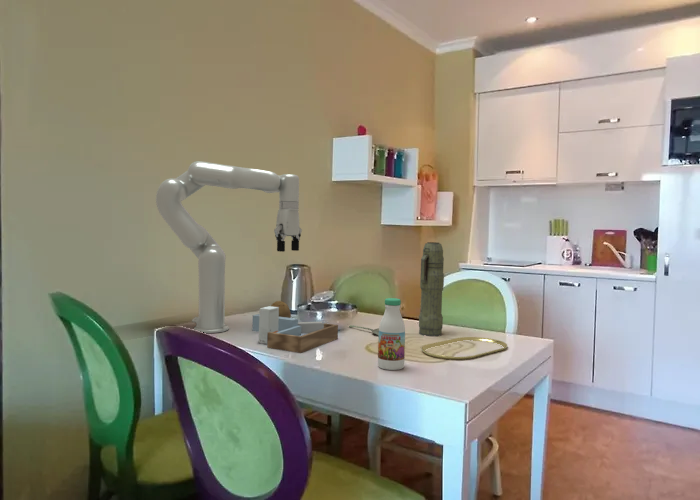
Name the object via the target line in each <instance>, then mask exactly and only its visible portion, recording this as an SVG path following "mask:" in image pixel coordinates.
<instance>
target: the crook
mask: <svg viewBox="0 0 700 500" xmlns="http://www.w3.org/2000/svg"><path fill="white" fill-rule="evenodd" d="M298 322H299V319H298V318H294V317H291V318H287V317H279V321H278V332H276V333H281V334H288V335H295V336H302V334H301V326H298ZM251 330H252V332H257V333H259V313H257V314H253V315H252V328H251Z"/></svg>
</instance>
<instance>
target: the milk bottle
mask: <svg viewBox="0 0 700 500" xmlns="http://www.w3.org/2000/svg"><path fill="white" fill-rule="evenodd" d="M401 304H402V301H401V299H400V298H396V297H395V298H394V297H393V298H392V297H388V298H385V299H384V308H385V310H384V314H383V315H382V318H381V320H380V321H379V327H378V328H379V336H378V341H377V343H378V346H377V348H378V349H377V351H378V352H377V365H378V367H379V368H380V369H383V370H388V371H389V370H390V371H399V370H402V369H404V367H405V357H406V356H405V355H406V353H405V352H406V327H405V321H404V320H403V317H402V314H401V311H400V310H401Z"/></svg>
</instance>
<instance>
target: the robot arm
mask: <svg viewBox="0 0 700 500" xmlns="http://www.w3.org/2000/svg"><path fill="white" fill-rule="evenodd" d="M205 186H208V187H209V186H210V187H216V188H225V189H230V190H231V189H232V190H234V189H235V190H237V189H245V190H247V189H248V190H254V191H256V190H257V191H262V192H264V193H265V194H274V193H279V195H278V198H279V201H278V210H277V216H276V222H275V224H276V226H275V228H274V231H273V232H274V235H275V236H274V237H275V238H276V240H275V241H276V251H277V252H282V253H285V252H286V240H285V238H286V237H291V246H290V247H291V248H290V249H291V250H290V251H294V252H298V251H300V240H301V235H302V231H303V229H302V228H301V227H300V213H299V210H300V209H299V208H300V207H299V205H300V199H299V197H300V177H299V175H297V174H292V173H290V174H289V173H286V174H285V173H283V174H281V175H279V174H277V173H276V172H274V171H270V170H263V169H257V168H249V167H243V166H242V167H241V166H235V165H229V164H221V163H215V162H209V161H201V160H198V161H193V162H191V164H190V165H189V166H188V168H187V170H186V171H184V172H183V173H181V174H180V175H178V176H177V177H176V178H173V177H171V178H166V179H165V180H163V181H162V182H161V183H160V184H159V186H158V189H157V191H156V195H155V203H156V208H157V210H158V213H159V215H160V216H161V217H162V219H163V220H164V222H165V223H166V224H167V226H169V228H170V229H171V230H172V232H173V233H174V234H175V235H176V236H177V238H178V239H179V241H181V243H182V245H183V246H184V247H186V248H188V249H189V250H190V251H191V252H192V253H193V254H194V256H195V257H196V258H197V259H198V316H195V317H193V318H192V319H191V323H196V326H194V328H193V330H194V329H195V330H198V331H201V332H204V333H203V334H215V333H216V334H217V333H222V332H227V331H228V330H229V328H230V327H229V325H227V324H225V318H226V317H225V313H226V312H225V307H226V306H225V304H226V301H225V299H226V296H225V295H226V275H225V274H226V258H227V257H226V253H225V251H224V250H223V248H222V247H221V245H219V243H218V242H217V241H216V240H215V239H214V238H213V236H212V235H211V234H210V232H209V231H208V230H207V229H206V228H205V227H204V226H203V225H201V224H199V223H198V222H197V221H196V219H194V218H193V217H192V215H191V214H190V213H189V212H188V210H187V209H186V208H185V207H184V206H183V204H182V201H184V200H186V199H188V198H189V197H190V196H192V195H194V194H195V193H196V192H198V191H199V190H201V189H202V188H203V187H205ZM195 330H194V331H195ZM201 332H200V333H201Z"/></svg>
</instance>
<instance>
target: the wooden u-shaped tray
mask: <svg viewBox="0 0 700 500" xmlns="http://www.w3.org/2000/svg"><path fill="white" fill-rule="evenodd" d="M338 337H339V325H338V324H335V323H329V324H327V323H325V324H324V328H323V329H320V330H317V331H314V332H311V333H307V334H303V335H300V336H295V335H288V334H281V333H274V332H268V333H267V344H266V346H267V347H266V348H267V349H274V350H280V351H281V350H282V351H285V352H286V351H288V352H293V353H300V354H301V353H304V352H307V351H310V350H313V349H315V348H317V347H320V346H322V345H325V344H328V343H330V342H333V341H335V340H337V339H339V338H338Z"/></svg>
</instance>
